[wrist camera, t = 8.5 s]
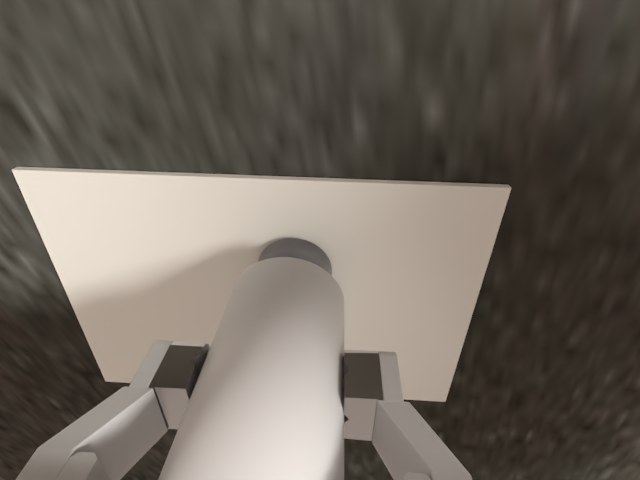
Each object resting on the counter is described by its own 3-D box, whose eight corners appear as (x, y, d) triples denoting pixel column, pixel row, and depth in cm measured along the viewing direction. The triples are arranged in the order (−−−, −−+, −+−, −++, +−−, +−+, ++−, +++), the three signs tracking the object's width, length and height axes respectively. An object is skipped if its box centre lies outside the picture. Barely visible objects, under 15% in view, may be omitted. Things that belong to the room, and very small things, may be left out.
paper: (508, 184, 13) (511, 188, 13) (444, 396, 20) (445, 401, 20) (17, 166, 14) (11, 169, 14) (108, 376, 20) (105, 381, 20)
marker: (347, 227, 14) (356, 810, 4) (343, 310, 16) (341, 824, 6) (238, 223, 14) (-27, 771, 4) (249, 306, 16) (92, 798, 6)
